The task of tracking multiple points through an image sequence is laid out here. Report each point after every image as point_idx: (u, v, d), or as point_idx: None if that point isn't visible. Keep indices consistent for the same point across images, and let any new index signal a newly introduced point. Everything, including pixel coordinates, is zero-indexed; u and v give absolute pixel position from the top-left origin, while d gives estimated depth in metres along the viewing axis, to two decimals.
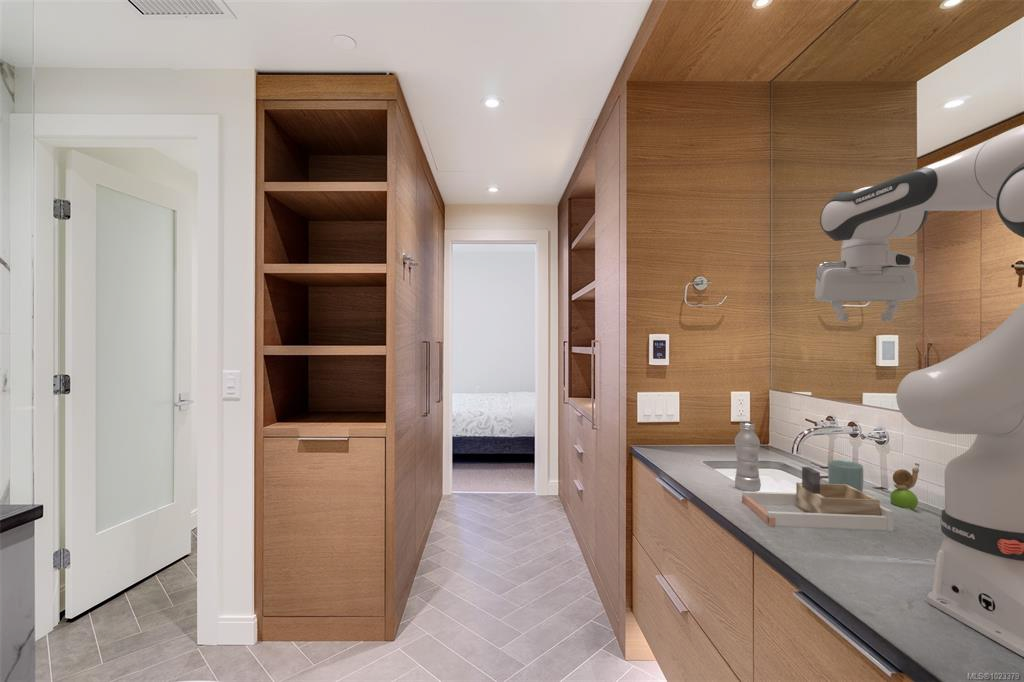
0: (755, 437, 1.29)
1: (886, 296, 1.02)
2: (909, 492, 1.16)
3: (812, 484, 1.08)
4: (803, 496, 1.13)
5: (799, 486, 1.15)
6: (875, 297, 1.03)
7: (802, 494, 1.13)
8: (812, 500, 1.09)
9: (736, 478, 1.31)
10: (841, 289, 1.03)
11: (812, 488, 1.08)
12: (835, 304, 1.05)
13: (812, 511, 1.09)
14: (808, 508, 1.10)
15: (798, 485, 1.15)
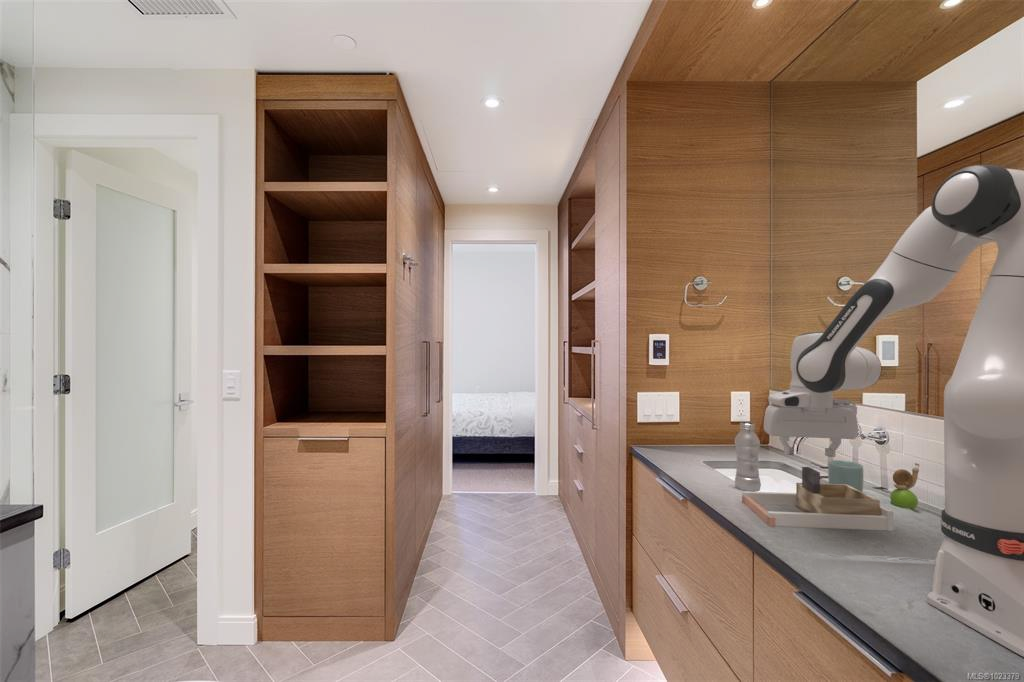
0: (755, 437, 1.29)
1: None
2: (909, 492, 1.16)
3: (812, 484, 1.08)
4: (803, 496, 1.13)
5: (799, 486, 1.15)
6: None
7: (802, 494, 1.13)
8: (812, 500, 1.09)
9: (736, 478, 1.31)
10: None
11: (812, 488, 1.08)
12: None
13: (812, 511, 1.09)
14: (808, 508, 1.10)
15: (798, 485, 1.15)
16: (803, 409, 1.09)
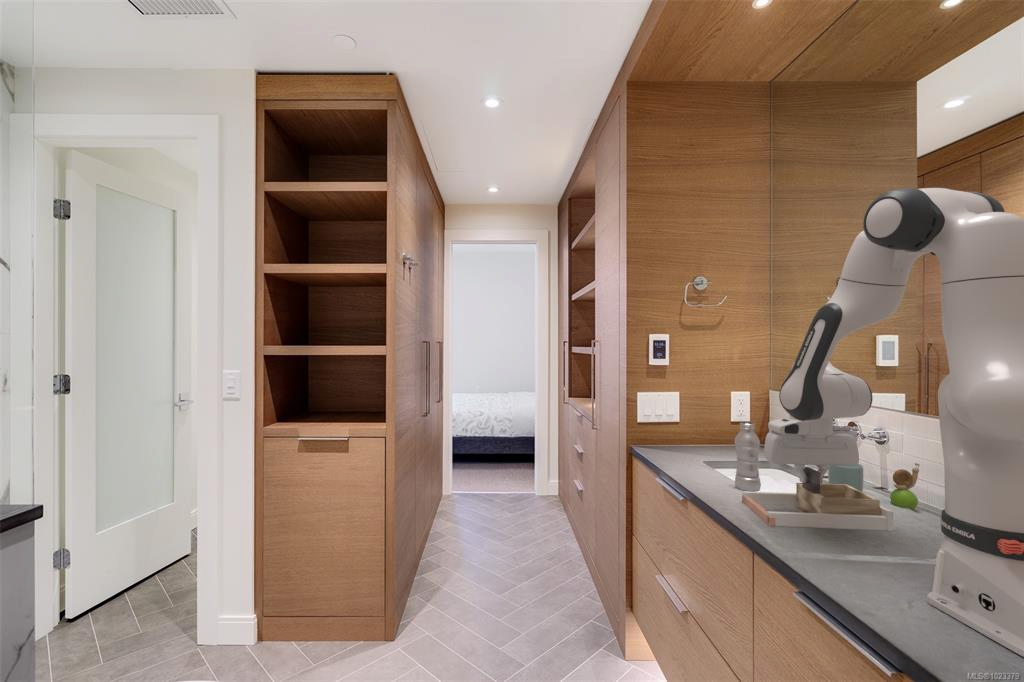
0: (755, 437, 1.29)
1: None
2: (909, 492, 1.16)
3: (812, 484, 1.08)
4: (803, 496, 1.13)
5: (799, 486, 1.15)
6: None
7: (802, 494, 1.13)
8: (812, 500, 1.09)
9: (736, 478, 1.31)
10: None
11: (812, 488, 1.08)
12: None
13: (812, 511, 1.09)
14: (808, 508, 1.10)
15: (798, 485, 1.15)
16: (803, 436, 1.09)
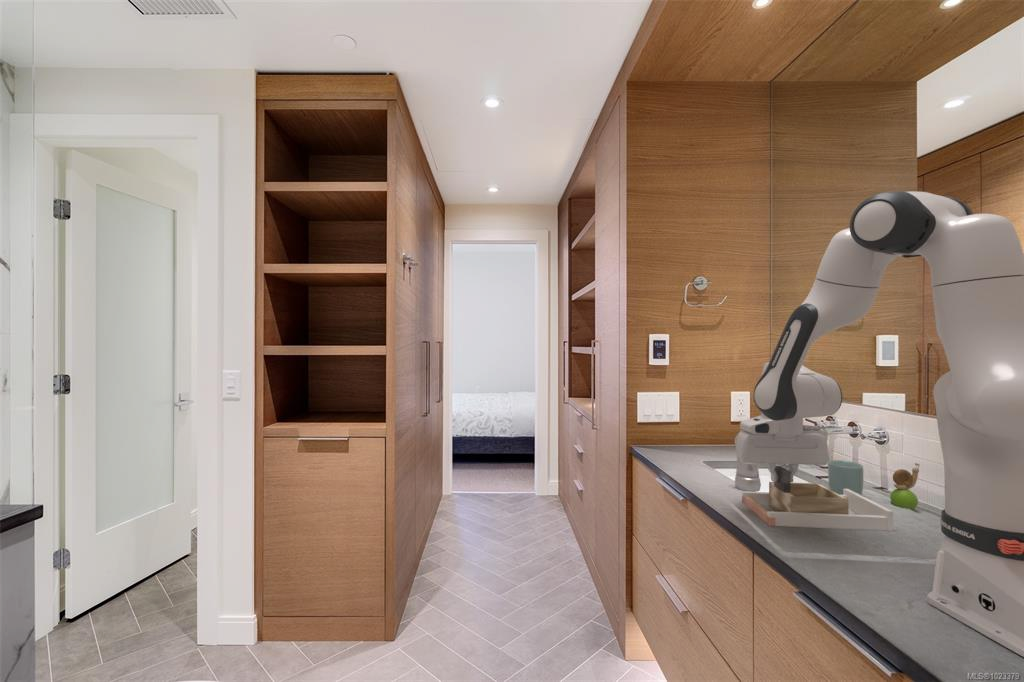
0: None
1: None
2: (909, 492, 1.16)
3: (782, 483, 1.09)
4: (775, 495, 1.14)
5: (771, 485, 1.16)
6: None
7: (774, 493, 1.14)
8: (783, 499, 1.10)
9: (736, 478, 1.31)
10: None
11: (783, 487, 1.09)
12: None
13: (783, 510, 1.10)
14: (780, 507, 1.11)
15: (770, 484, 1.16)
16: (774, 435, 1.10)
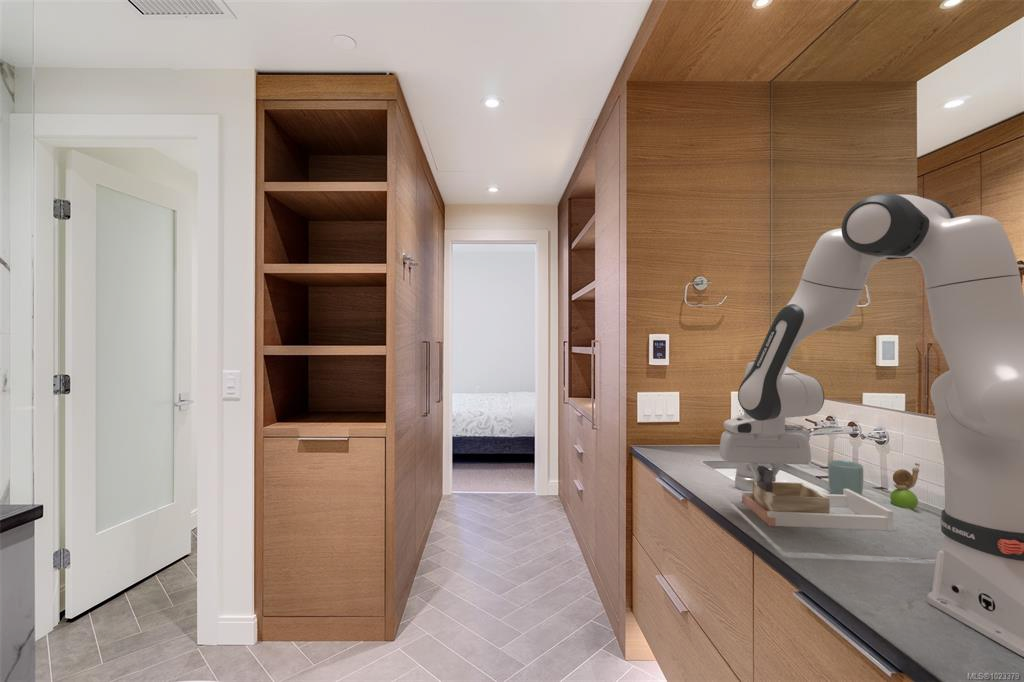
0: None
1: None
2: (909, 492, 1.16)
3: (764, 483, 1.10)
4: (758, 494, 1.14)
5: (755, 485, 1.16)
6: None
7: (757, 492, 1.15)
8: (765, 498, 1.10)
9: (736, 478, 1.31)
10: None
11: (765, 486, 1.09)
12: None
13: (765, 509, 1.10)
14: (762, 506, 1.12)
15: (754, 484, 1.16)
16: (756, 435, 1.10)
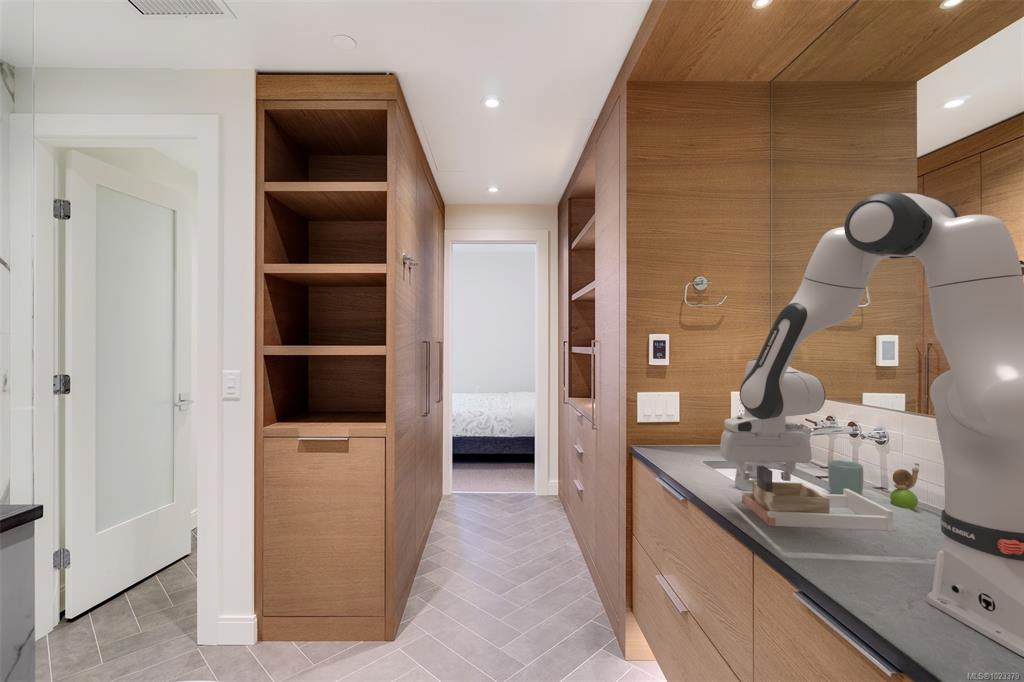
0: None
1: None
2: (909, 492, 1.16)
3: (764, 483, 1.10)
4: (758, 494, 1.14)
5: (755, 485, 1.16)
6: None
7: (757, 492, 1.15)
8: (765, 498, 1.10)
9: (736, 478, 1.31)
10: None
11: (765, 486, 1.09)
12: None
13: (765, 509, 1.10)
14: (762, 506, 1.12)
15: (754, 484, 1.16)
16: (757, 434, 1.10)
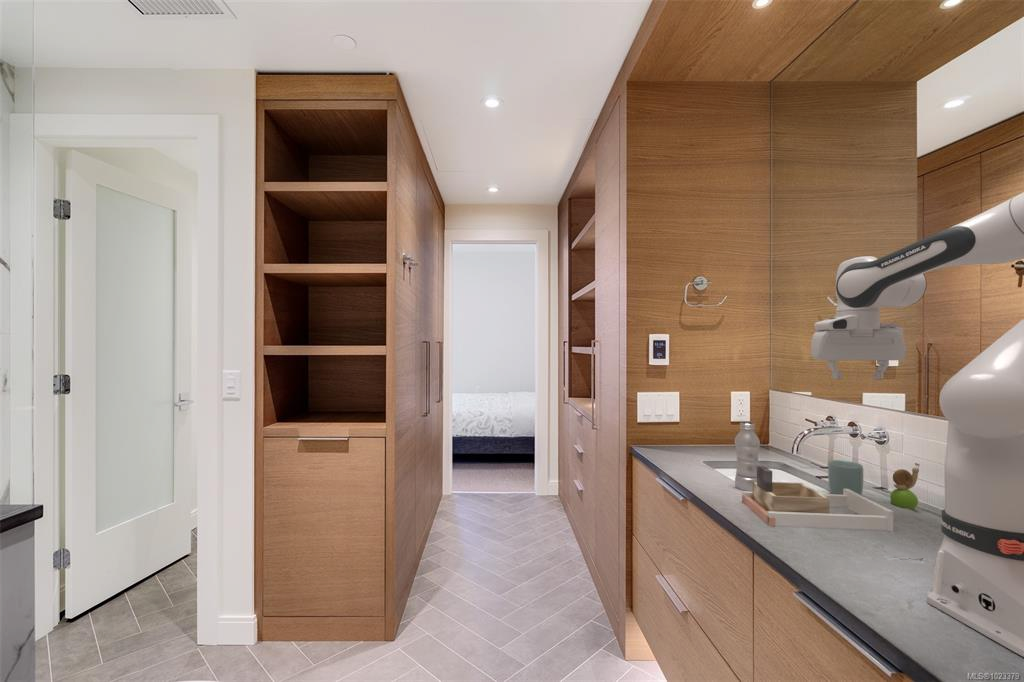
0: (755, 437, 1.29)
1: None
2: (909, 492, 1.16)
3: (764, 483, 1.10)
4: (758, 494, 1.14)
5: (755, 485, 1.16)
6: None
7: (757, 492, 1.15)
8: (765, 498, 1.10)
9: (736, 478, 1.31)
10: None
11: (765, 486, 1.09)
12: None
13: (765, 509, 1.10)
14: (762, 506, 1.12)
15: (754, 484, 1.16)
16: (851, 332, 1.12)
